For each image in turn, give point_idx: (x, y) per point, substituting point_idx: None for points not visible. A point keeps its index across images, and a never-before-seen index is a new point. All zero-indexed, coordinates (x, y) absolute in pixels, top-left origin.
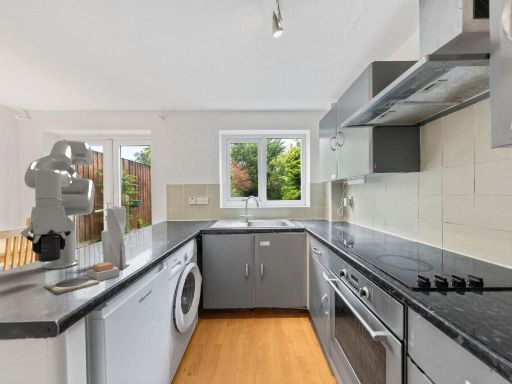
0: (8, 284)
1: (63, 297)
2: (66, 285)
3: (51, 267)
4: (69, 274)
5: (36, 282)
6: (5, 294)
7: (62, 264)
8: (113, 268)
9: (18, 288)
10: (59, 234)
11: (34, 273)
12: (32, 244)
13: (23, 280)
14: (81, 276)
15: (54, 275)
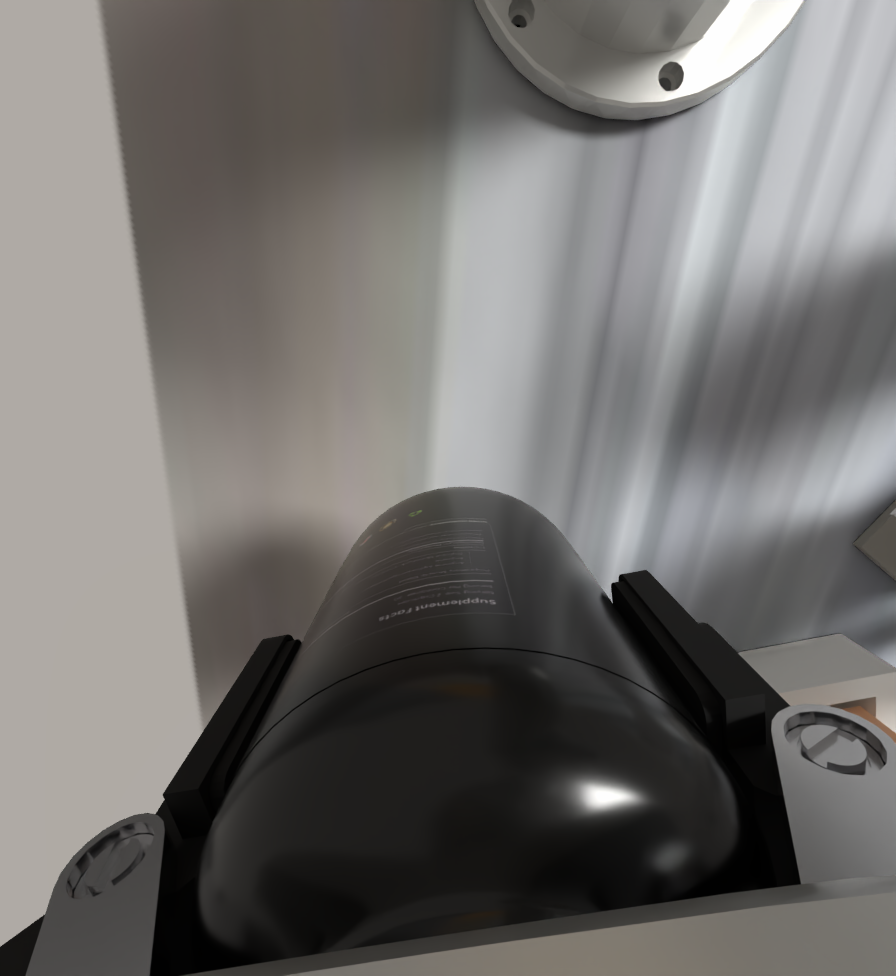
0: (184, 425)
1: None
2: None
3: (513, 54)
4: (602, 452)
5: (365, 524)
6: (201, 688)
7: (628, 47)
8: None
9: (260, 602)
10: (807, 868)
11: (356, 136)
12: (166, 808)
13: (277, 374)
14: None
15: (499, 389)
